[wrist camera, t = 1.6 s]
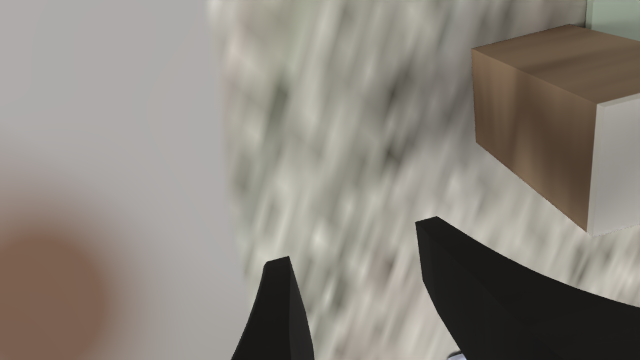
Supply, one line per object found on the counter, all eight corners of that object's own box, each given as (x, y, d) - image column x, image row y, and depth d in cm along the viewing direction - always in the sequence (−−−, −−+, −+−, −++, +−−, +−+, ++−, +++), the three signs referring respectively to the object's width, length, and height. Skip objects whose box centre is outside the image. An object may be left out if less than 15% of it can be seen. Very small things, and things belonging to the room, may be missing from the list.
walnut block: (564, 118, 23) (721, 202, 15) (475, 141, 22) (592, 237, 15) (568, 24, 21) (753, 68, 13) (471, 48, 20) (604, 107, 13)
